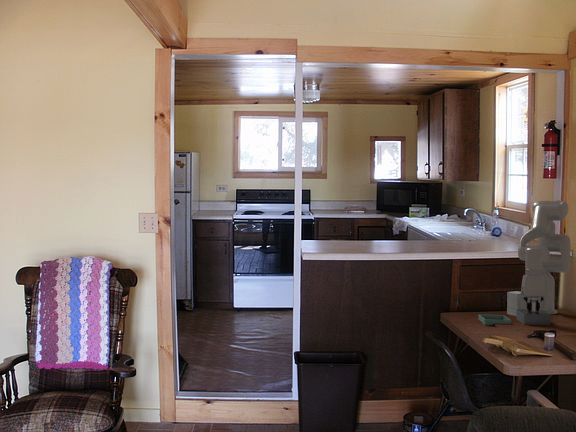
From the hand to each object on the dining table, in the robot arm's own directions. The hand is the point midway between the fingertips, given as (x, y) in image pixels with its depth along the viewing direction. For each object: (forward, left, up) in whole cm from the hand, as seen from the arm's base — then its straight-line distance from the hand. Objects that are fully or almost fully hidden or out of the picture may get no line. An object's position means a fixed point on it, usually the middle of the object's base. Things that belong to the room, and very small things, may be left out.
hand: (533, 310), depth 269 cm
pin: (0, 0, -6) cm, 6 cm away
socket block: (0, 0, -7) cm, 7 cm away
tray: (-1, -18, -7) cm, 19 cm away
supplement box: (-18, -2, -7) cm, 19 cm away
